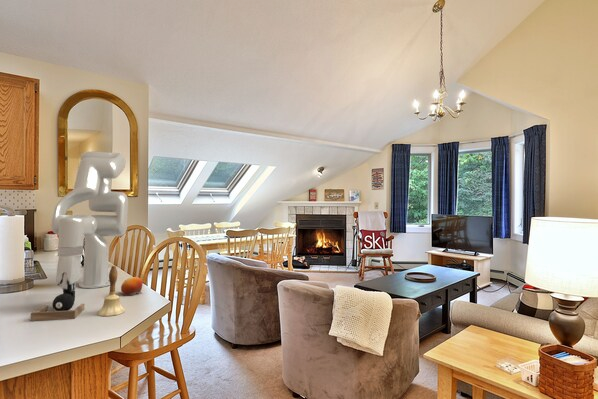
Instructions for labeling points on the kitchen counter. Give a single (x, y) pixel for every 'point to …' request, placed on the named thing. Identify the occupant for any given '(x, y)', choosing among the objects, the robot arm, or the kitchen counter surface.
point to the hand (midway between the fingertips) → (68, 302)
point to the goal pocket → (55, 314)
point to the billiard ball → (63, 302)
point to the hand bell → (111, 298)
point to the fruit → (132, 286)
